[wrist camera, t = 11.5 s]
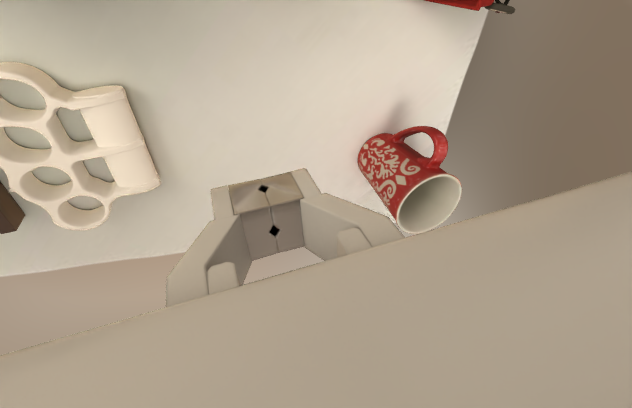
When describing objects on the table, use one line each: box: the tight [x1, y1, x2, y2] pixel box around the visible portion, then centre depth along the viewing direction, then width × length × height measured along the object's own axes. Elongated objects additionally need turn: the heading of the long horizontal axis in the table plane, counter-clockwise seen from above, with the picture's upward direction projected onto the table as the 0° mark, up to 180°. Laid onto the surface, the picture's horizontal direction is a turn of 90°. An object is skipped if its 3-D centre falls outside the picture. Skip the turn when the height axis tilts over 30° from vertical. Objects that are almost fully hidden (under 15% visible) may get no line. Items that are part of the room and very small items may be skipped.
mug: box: [358, 126, 462, 234], centre depth 45 cm, size 13×9×14 cm
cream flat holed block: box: [0, 62, 161, 230], centre depth 35 cm, size 3×18×15 cm
